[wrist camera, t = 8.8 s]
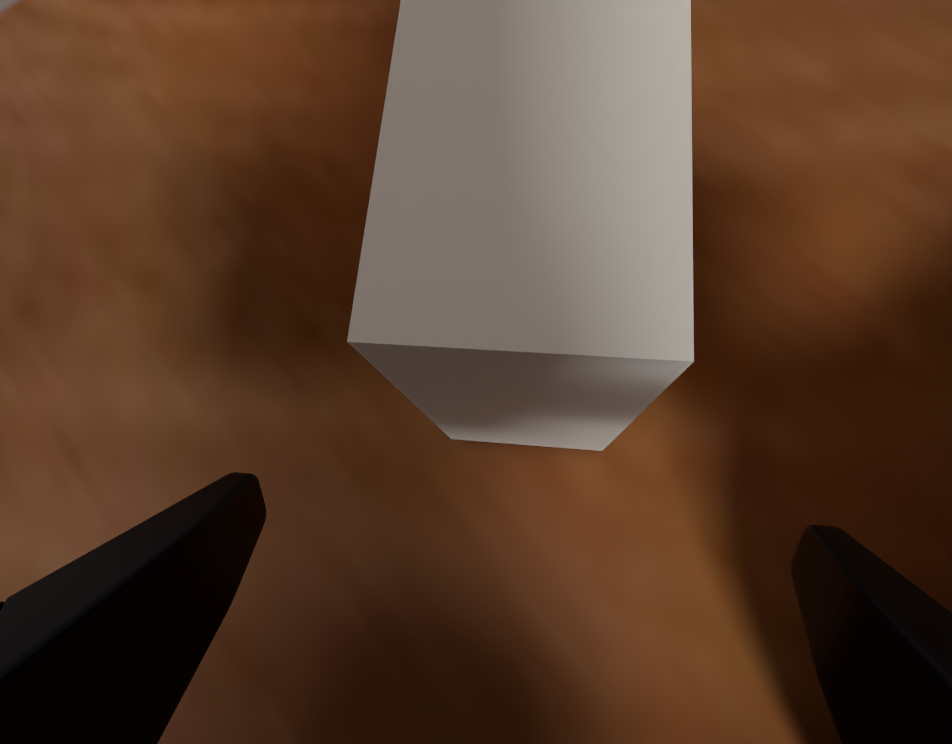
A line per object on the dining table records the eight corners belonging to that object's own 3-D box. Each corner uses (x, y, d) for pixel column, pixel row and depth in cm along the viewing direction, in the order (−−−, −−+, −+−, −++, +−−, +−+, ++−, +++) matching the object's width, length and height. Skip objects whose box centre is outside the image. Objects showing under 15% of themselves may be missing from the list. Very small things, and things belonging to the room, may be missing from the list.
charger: (602, 450, 16) (694, 362, 7) (450, 439, 16) (346, 341, 7) (612, 142, 18) (688, -221, 9) (481, 141, 19) (432, -204, 10)
